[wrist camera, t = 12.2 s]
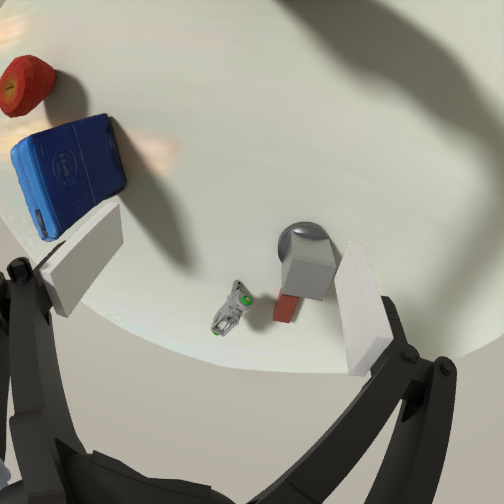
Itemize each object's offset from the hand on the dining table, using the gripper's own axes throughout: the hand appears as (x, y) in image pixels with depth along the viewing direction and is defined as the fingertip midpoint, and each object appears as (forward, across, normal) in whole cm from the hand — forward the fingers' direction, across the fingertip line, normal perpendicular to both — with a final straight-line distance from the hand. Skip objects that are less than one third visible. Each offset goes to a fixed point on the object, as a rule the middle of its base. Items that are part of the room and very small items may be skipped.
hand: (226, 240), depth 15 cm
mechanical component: (+28, -1, -27) cm, 39 cm away
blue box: (+29, -26, -4) cm, 39 cm away
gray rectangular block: (+26, +10, -17) cm, 33 cm away
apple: (+29, -41, +10) cm, 51 cm away
